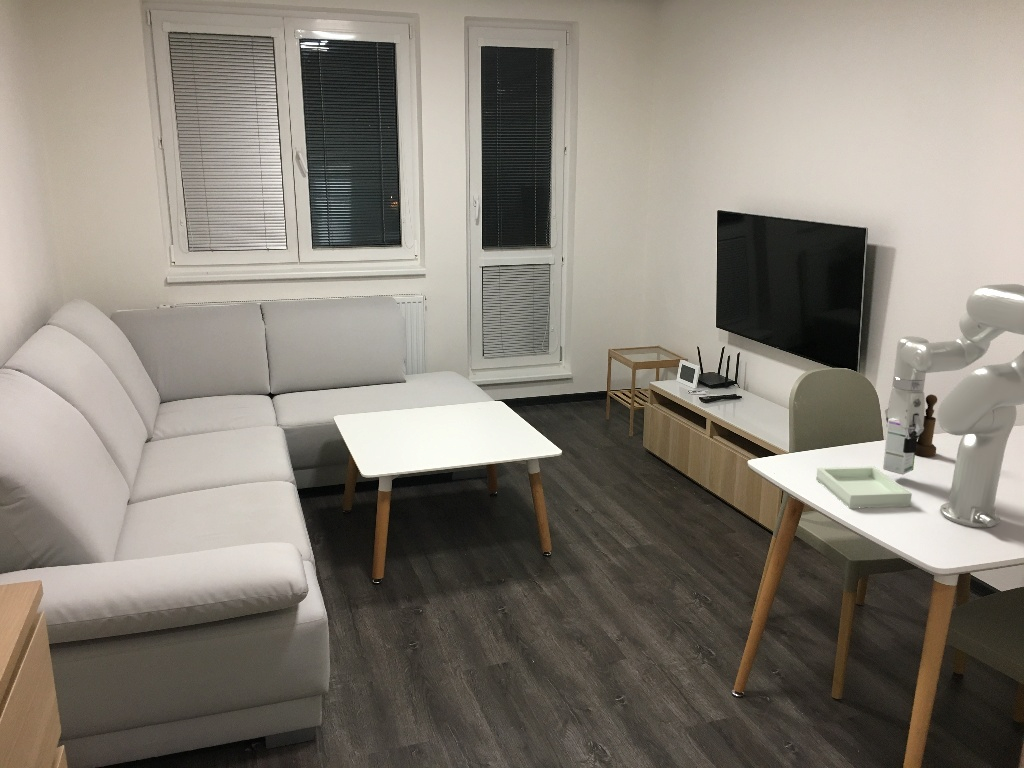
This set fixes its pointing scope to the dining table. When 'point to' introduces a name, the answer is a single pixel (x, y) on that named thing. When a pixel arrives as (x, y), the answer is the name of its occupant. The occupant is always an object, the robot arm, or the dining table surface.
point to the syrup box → (897, 449)
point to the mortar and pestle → (927, 431)
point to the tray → (863, 487)
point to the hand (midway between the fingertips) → (900, 447)
